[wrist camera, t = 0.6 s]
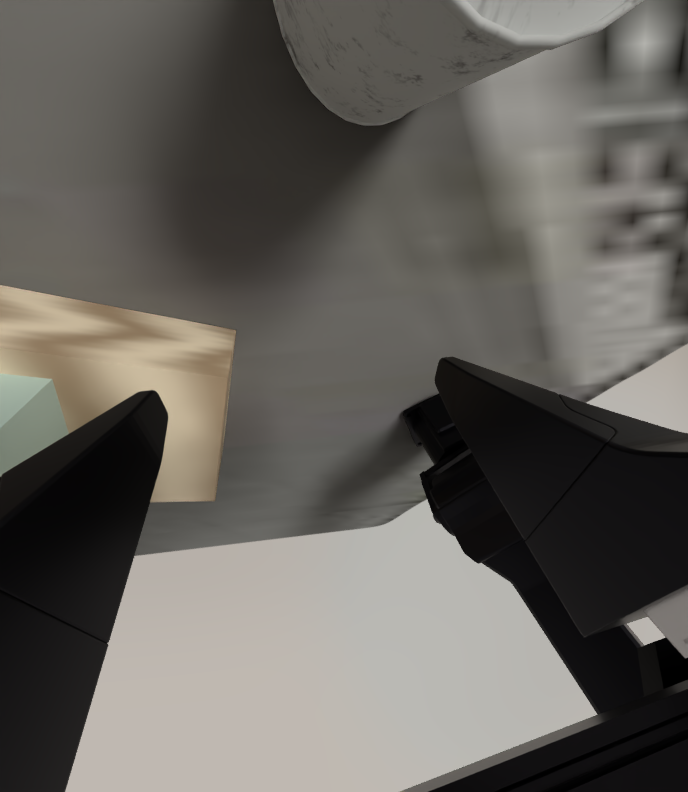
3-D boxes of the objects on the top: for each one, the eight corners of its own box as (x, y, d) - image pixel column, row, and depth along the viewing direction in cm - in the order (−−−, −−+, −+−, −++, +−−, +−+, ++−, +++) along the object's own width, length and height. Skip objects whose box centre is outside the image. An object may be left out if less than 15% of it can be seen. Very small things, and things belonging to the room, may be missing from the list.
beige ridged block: (236, 330, 21) (227, 377, 16) (223, 442, 27) (214, 500, 22) (-25, 280, 16) (-158, 327, 11) (34, 431, 22) (-32, 505, 17)
